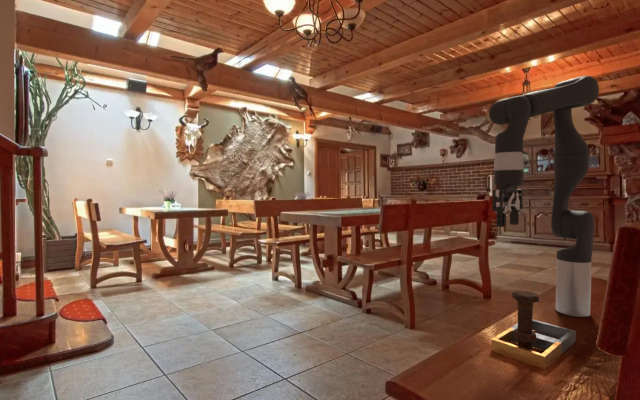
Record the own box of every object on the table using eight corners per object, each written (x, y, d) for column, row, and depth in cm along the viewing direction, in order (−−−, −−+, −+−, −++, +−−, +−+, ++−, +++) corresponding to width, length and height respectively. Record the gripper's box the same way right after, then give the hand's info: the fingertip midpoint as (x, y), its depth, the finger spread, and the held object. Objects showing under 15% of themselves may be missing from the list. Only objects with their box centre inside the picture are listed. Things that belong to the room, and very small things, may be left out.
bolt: (540, 359, 85) (541, 297, 84) (517, 357, 86) (518, 296, 85) (531, 348, 90) (532, 290, 90) (509, 346, 91) (510, 289, 91)
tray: (526, 328, 103) (526, 317, 103) (575, 341, 94) (575, 330, 94) (491, 350, 89) (491, 339, 89) (544, 369, 80) (544, 356, 80)
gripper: (511, 167, 93) (510, 228, 94) (532, 169, 102) (532, 224, 103) (483, 169, 99) (482, 226, 100) (505, 170, 108) (505, 222, 109)
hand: (507, 225), depth 102 cm, fingers open, 8 cm apart
